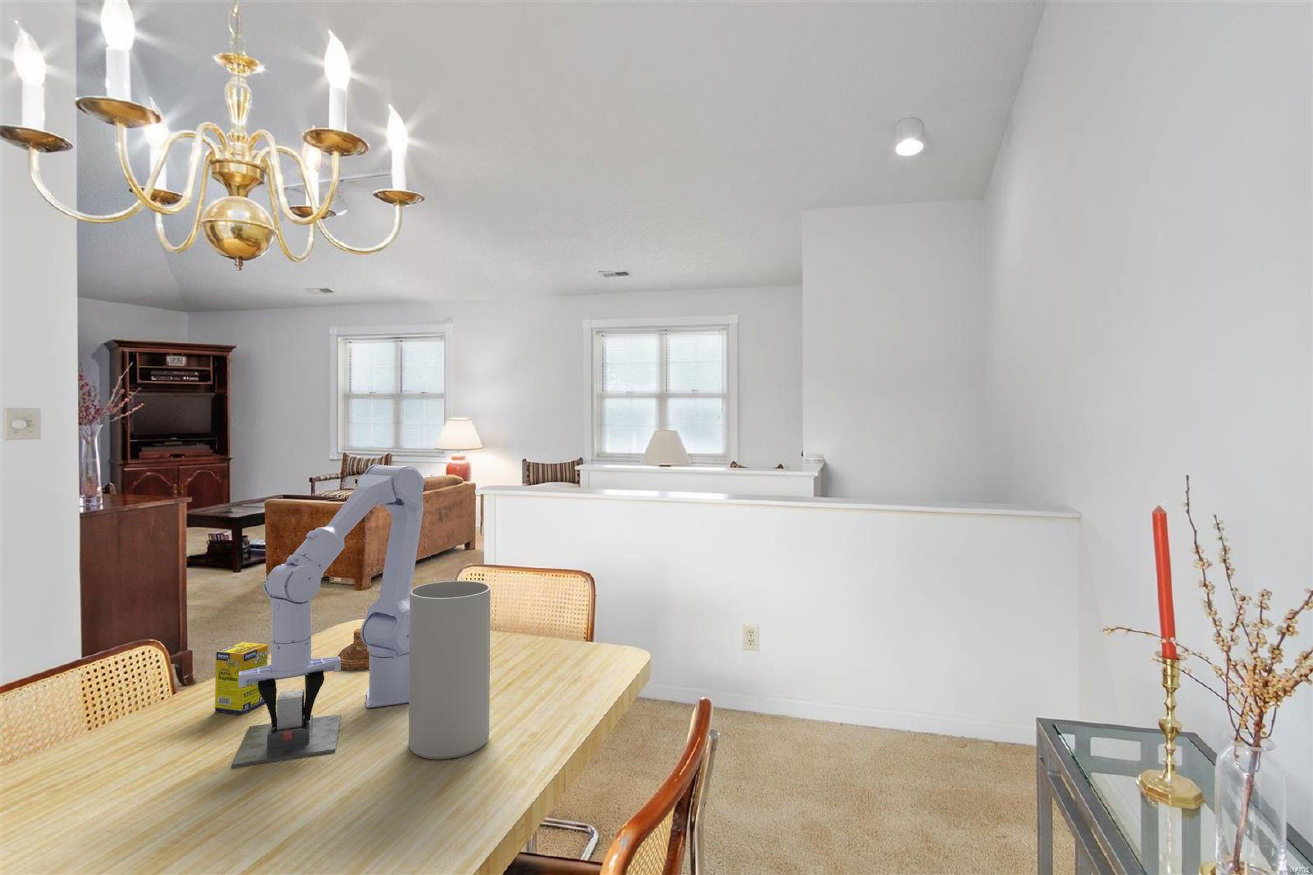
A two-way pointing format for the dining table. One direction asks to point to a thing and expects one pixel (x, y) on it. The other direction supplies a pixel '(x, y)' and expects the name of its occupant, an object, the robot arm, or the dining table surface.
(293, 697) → the column
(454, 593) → the cylinder vase
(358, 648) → the bell
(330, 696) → the dining table surface
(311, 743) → the stand base
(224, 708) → the supplement box
